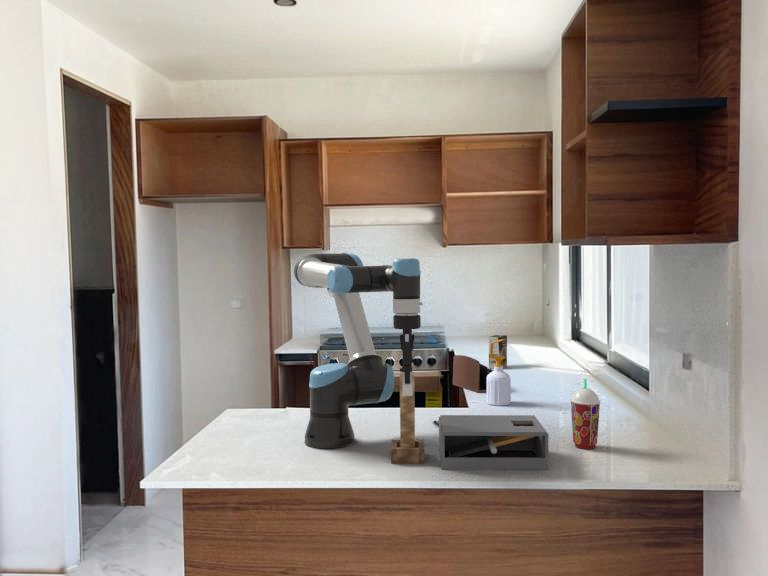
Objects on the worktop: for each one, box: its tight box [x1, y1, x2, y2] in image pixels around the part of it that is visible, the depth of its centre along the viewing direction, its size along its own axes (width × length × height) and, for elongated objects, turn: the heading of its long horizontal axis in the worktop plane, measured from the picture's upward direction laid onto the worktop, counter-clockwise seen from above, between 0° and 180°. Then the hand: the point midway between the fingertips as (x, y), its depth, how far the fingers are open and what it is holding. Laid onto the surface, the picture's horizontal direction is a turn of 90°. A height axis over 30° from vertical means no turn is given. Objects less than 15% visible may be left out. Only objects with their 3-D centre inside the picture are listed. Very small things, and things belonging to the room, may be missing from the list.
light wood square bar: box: [399, 371, 416, 448], centre depth 181 cm, size 4×4×24 cm
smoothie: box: [570, 378, 601, 450], centre depth 191 cm, size 8×8×20 cm
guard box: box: [438, 414, 549, 471], centre depth 180 cm, size 28×18×10 cm, turn 87°
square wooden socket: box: [390, 439, 425, 465], centre depth 181 cm, size 9×9×4 cm
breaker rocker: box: [447, 436, 535, 457], centre depth 180 cm, size 24×15×2 cm, turn 87°
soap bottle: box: [486, 339, 512, 407], centre depth 247 cm, size 9×9×25 cm
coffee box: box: [488, 334, 508, 370], centre depth 326 cm, size 9×6×16 cm
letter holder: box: [452, 354, 494, 394], centre depth 277 cm, size 10×20×14 cm, turn 26°
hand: (407, 390), depth 180 cm, fingers open, 13 cm apart
